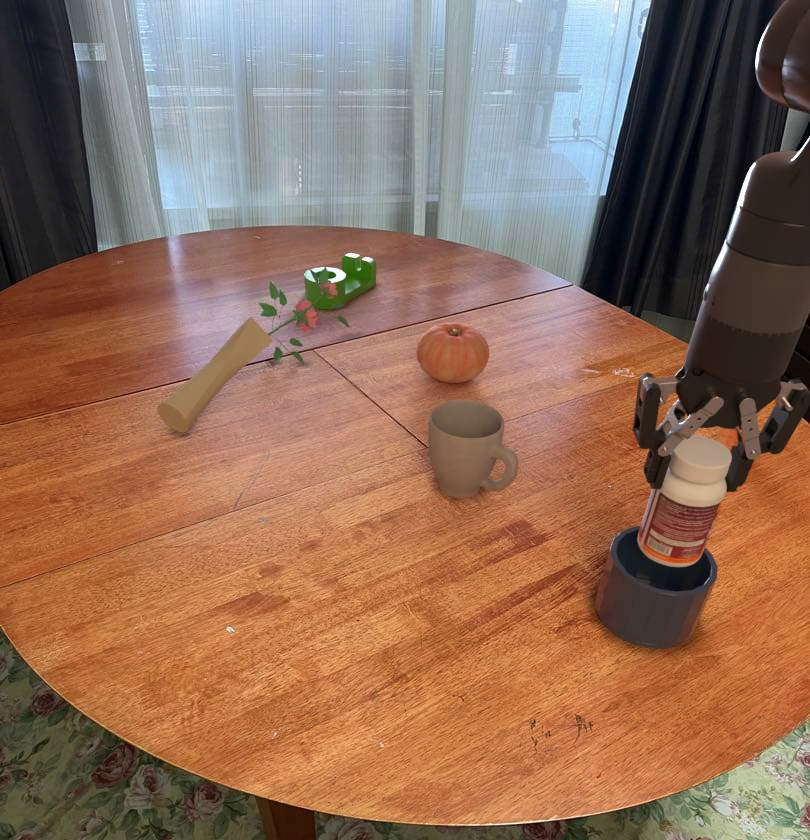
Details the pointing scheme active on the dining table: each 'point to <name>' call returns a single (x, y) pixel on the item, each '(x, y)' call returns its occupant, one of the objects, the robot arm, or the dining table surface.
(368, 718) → the dining table surface
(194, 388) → the flower vase
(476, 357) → the pumpkin
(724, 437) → the milkshake
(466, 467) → the mug
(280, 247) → the dining table surface
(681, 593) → the pen holder
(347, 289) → the tape dispenser
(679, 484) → the pill bottle
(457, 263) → the dining table surface
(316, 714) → the dining table surface
